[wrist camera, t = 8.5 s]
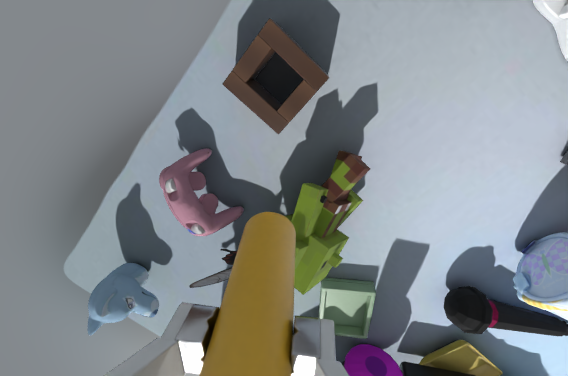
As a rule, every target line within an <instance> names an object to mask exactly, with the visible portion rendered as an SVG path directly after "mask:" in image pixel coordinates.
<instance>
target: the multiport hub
mask: <svg viewBox="0 0 568 376" xmlns="http://www.w3.org/2000/svg"><path fill="white" fill-rule="evenodd" d="M399 368H400V370H401V372H402V375H403V376H476V375H472V374H467V373H462V372H457V371H451V370H446V369H441V368H435V367H430V366H425V365H420V364H414V363H409V362H402V363H401V365H400V367H399Z"/></svg>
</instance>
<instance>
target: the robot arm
mask: <svg viewBox="0 0 568 376" xmlns="http://www.w3.org/2000/svg"><path fill="white" fill-rule="evenodd" d="M533 4H534V6H535V7H536V9H537V10H538V11H539V12H540V13H541V14H542V15H543V16H544V17H545V18H546V19H547V20H548V21H549V22H551V23H552V25H553V27H554V29H555V32H556V35H557V39H558V42H559V46H560V49H561V51H562V53H563V56H564V57H565V59H566V61H567V62H568V0H533ZM219 310H220V309H219V307H212V306H206V305H199V304H191V303H183V302H182V303H181V304H180V305H179V307H178V308H177V310H176V312H175V314H174V315H173V317H172V319H171V321H170V322H169V324H168V326H167V328H166V329H165V331H164V333H163V335H162V336H161V338H156V339H155V340H153V341H152V342H151V343H149V344H148V345H146V346H145V347H143V348H142V349H141V350H139V351H138V352H136V353H135V354H134V355H132V356H131V357H130V358H128V359H127V360H125V361H124V362H122V363H121V364H120V365H118V366H117V367H115V368H114V369H112V370H111V371H110V372H108V373H107V374H106V375H104V376H184V375H185V373H191V374H200V372H201V369H202V366H203V362H204V359H205V356H206V352H207V349H208V346H209V343H210V339H211V336H212V333H213V330H214V326H215V323H216V320H217V316H218V313H219ZM291 368H292V376H349V375H348V373H347V371H346V370H345V368H344V367H343V365H342V364H341V362H339V361H336V350H335V331H334V321H333V320H329V319H320V318H313V317H303V316H295V320H294V332H293V340H292V351H291Z"/></svg>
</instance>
